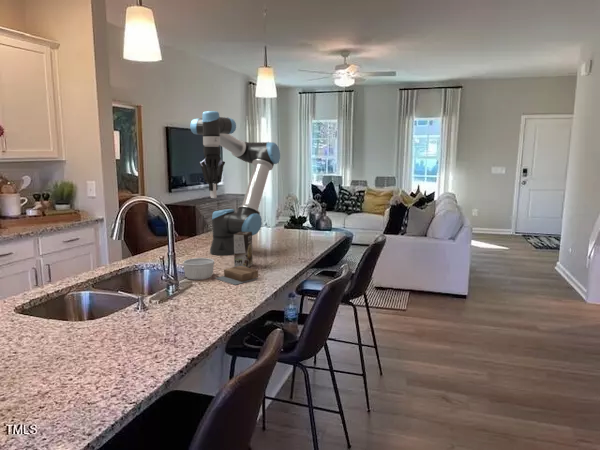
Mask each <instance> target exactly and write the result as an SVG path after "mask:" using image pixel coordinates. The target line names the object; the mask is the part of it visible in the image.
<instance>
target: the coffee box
mask: <svg viewBox="0 0 600 450" xmlns="http://www.w3.org/2000/svg"><path fill="white" fill-rule="evenodd" d="M253 258H254V257H253V236H252V232H238V233H236V234H234V254H233V260H234V261H233V263H234V267H237V266H243V267H247V268H250V267H251V266H253V265H254V264H253V262H254V261H253Z"/></svg>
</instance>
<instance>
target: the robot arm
mask: <svg viewBox="0 0 600 450" xmlns="http://www.w3.org/2000/svg"><path fill="white" fill-rule="evenodd" d="M189 127H190V132H191V133H193V134H194V135H197V136H198V135H200V136H201V135H202V145H203V148H202V149H203V160H202V161H199V165H200V167H201V172H202V176H203V180H204V183H206V184H208V190H209V192H210V193H209V194H210V198H211V199H217V195H218V194H217V191H218V189H219V188H218V184H220V183H221V182H222V176H223V172H224V166H225V163H226V162H225V161H223V160H222V158H221V156H220V155H221V147H222V148H224V149H225V150H227V151H229V152H231V154H232V156H234V157H235V158H237V159H238V160H241V161H243V162H245V163H248V164H252V165H253V169H252V172H251V175H250V179H249V182H248V185H247V188H246V191H245V195H244V198H243V201H242V204H241V205H240V206H238V207H237V211H235V209H234V208H228V209H227V208H226V209H220V210H214V211H213V212H212V215H211V216H212V217H211V218H212V219H211V221H212V222H211V225H212V241H211V245H210V248H209V254H211V255H213V256H230V255H234V234H236V233H238V232H252V237H253V236H256V235H257V234H258V233H259V232H260V230H261V228H262V224H263V222H262V219H263V218H262V216H261V213H260V211H259V207H260V205H261V201H262V196H263V193H264V190H265V187H266V184H267V183H266V182H267V180H268V175H269V173H270V171H272V170H273V168H274V166H275V165H277V164H279V163H280V160H281V151H280V147H279V146H278V144H277V143H276V142H273V141H271V142H269V141H266V142H264V141H263V142H257V141H256V142H250V141H247V142H246V141H244V140H242V139H237V138H236V137H234V136H232V135H231V134H234V133H235V132H236V130H237V129H236V128H237V123H236V120H234V119H233V118H231V117H225V116H224V117H222V116H220V112H218V111H217V110H215V111H214V110H207V111H206V110H205V111H203V112H202V118H201V117H200V118H199V117H198V118H193V119H192V120H191V122H190V125H189Z"/></svg>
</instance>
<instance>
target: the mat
mask: <svg viewBox="0 0 600 450" xmlns="http://www.w3.org/2000/svg"><path fill="white" fill-rule="evenodd" d="M214 279H215V280H218V281H222V282H224V283H227V284H231V285H234V286H238V285H241V284H245V283H249V282H252V281H256V280H258V279H259V277H258V278H254V279H250V280H247V281H243V282H241V281H238V280H234V279H231V278H228V277H225V276H224V275H222V276H217V277H214Z"/></svg>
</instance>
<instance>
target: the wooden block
mask: <svg viewBox="0 0 600 450" xmlns="http://www.w3.org/2000/svg"><path fill="white" fill-rule="evenodd" d="M223 276H225V277H228V278H231V279H234V280H238V281H241V282H243V281H247V280H250V279H254V278H258V279H259V270H257V269H254V268H250V267H249V268H247V267H243V266H237V267H229V268H226V269H223Z"/></svg>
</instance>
